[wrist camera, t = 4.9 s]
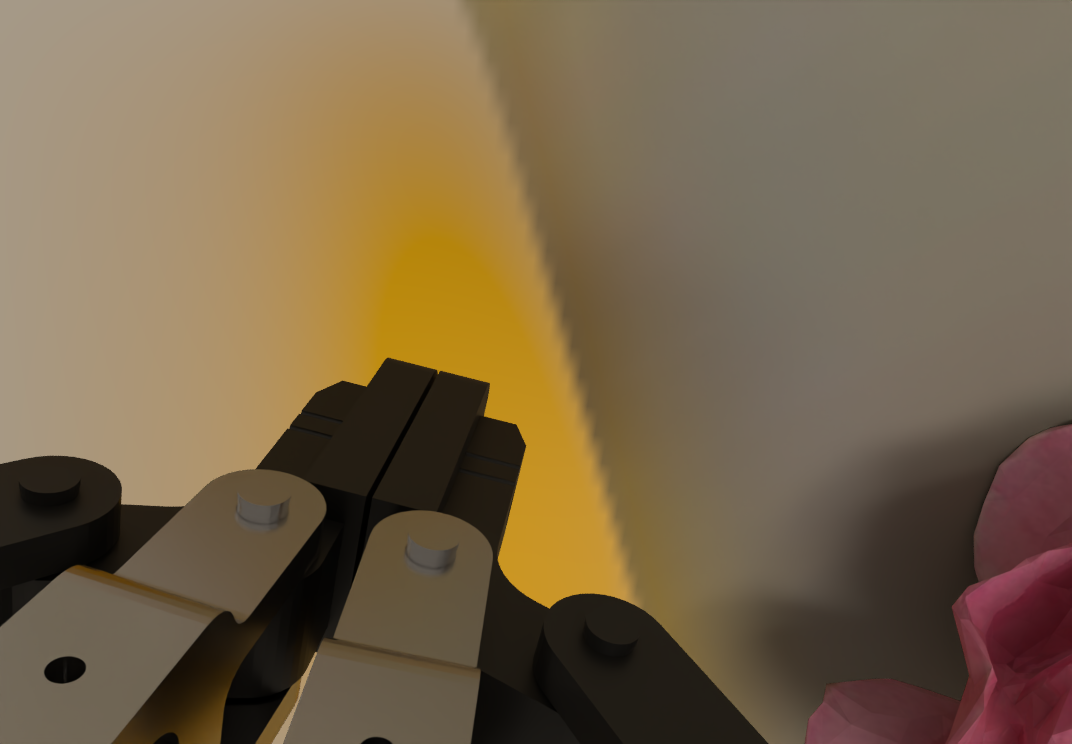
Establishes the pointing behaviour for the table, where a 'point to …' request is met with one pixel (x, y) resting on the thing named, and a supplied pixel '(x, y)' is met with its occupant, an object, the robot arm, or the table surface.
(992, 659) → the flower
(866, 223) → the table surface
